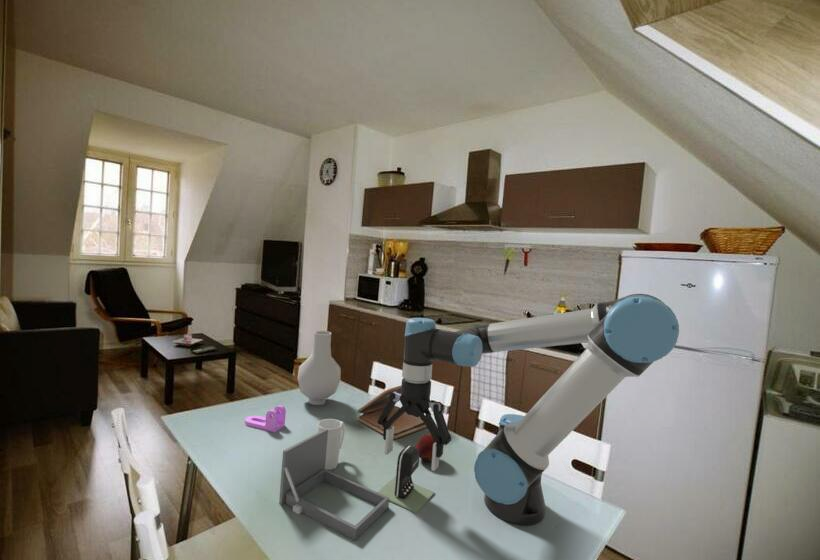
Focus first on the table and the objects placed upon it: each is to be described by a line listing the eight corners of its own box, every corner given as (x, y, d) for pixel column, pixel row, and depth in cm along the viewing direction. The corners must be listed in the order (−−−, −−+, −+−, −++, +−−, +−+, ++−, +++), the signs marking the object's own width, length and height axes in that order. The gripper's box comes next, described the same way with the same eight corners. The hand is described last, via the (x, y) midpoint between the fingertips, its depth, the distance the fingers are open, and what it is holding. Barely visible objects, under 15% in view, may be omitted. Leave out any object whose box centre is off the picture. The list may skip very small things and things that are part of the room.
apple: (444, 461, 121) (447, 436, 121) (428, 469, 116) (430, 443, 115) (426, 451, 126) (428, 427, 126) (409, 459, 121) (412, 433, 120)
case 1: (390, 505, 98) (394, 455, 97) (352, 543, 84) (357, 484, 83) (322, 474, 108) (325, 428, 107) (278, 503, 95) (282, 450, 94)
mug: (327, 473, 109) (330, 431, 108) (309, 465, 112) (312, 424, 111) (350, 459, 117) (354, 420, 117) (333, 451, 121) (336, 413, 120)
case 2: (393, 407, 160) (397, 368, 159) (432, 426, 146) (436, 384, 145) (353, 419, 146) (356, 377, 144) (392, 442, 131) (396, 395, 130)
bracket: (284, 426, 135) (286, 406, 134) (274, 432, 130) (276, 412, 129) (252, 418, 138) (253, 398, 138) (241, 424, 133) (242, 404, 133)
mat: (434, 493, 104) (434, 491, 104) (416, 513, 96) (416, 512, 96) (395, 477, 110) (395, 476, 110) (375, 495, 101) (375, 493, 101)
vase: (288, 406, 151) (293, 333, 149) (306, 391, 167) (311, 326, 165) (329, 413, 148) (335, 339, 146) (344, 398, 164) (349, 331, 163)
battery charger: (407, 502, 99) (411, 458, 98) (393, 497, 101) (397, 453, 100) (417, 488, 105) (421, 446, 105) (404, 483, 107) (408, 442, 106)
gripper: (468, 385, 98) (461, 468, 99) (383, 366, 110) (378, 441, 111) (456, 393, 92) (450, 482, 93) (367, 372, 104) (362, 451, 105)
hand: (411, 460), depth 102 cm, fingers open, 13 cm apart
